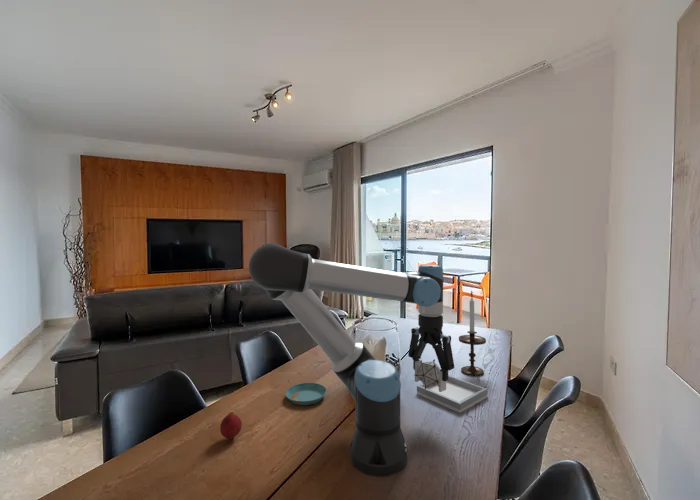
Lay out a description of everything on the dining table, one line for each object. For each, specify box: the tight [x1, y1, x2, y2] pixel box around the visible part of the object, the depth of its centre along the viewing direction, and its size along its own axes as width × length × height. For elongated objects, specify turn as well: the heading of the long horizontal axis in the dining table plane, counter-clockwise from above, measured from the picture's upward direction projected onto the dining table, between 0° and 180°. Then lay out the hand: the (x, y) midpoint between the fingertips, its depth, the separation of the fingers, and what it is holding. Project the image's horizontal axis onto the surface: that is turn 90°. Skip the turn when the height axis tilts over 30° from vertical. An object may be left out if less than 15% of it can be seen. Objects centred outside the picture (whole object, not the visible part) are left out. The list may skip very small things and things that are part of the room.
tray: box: [416, 374, 488, 414], centre depth 122 cm, size 17×18×3 cm
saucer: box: [285, 382, 328, 406], centre depth 122 cm, size 15×15×3 cm
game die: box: [413, 358, 441, 389], centre depth 106 cm, size 9×8×10 cm
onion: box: [219, 410, 243, 440], centre depth 97 cm, size 6×6×8 cm
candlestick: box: [458, 289, 487, 377], centre depth 142 cm, size 11×11×35 cm
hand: (429, 385), depth 106 cm, fingers closed on game die, 9 cm apart
